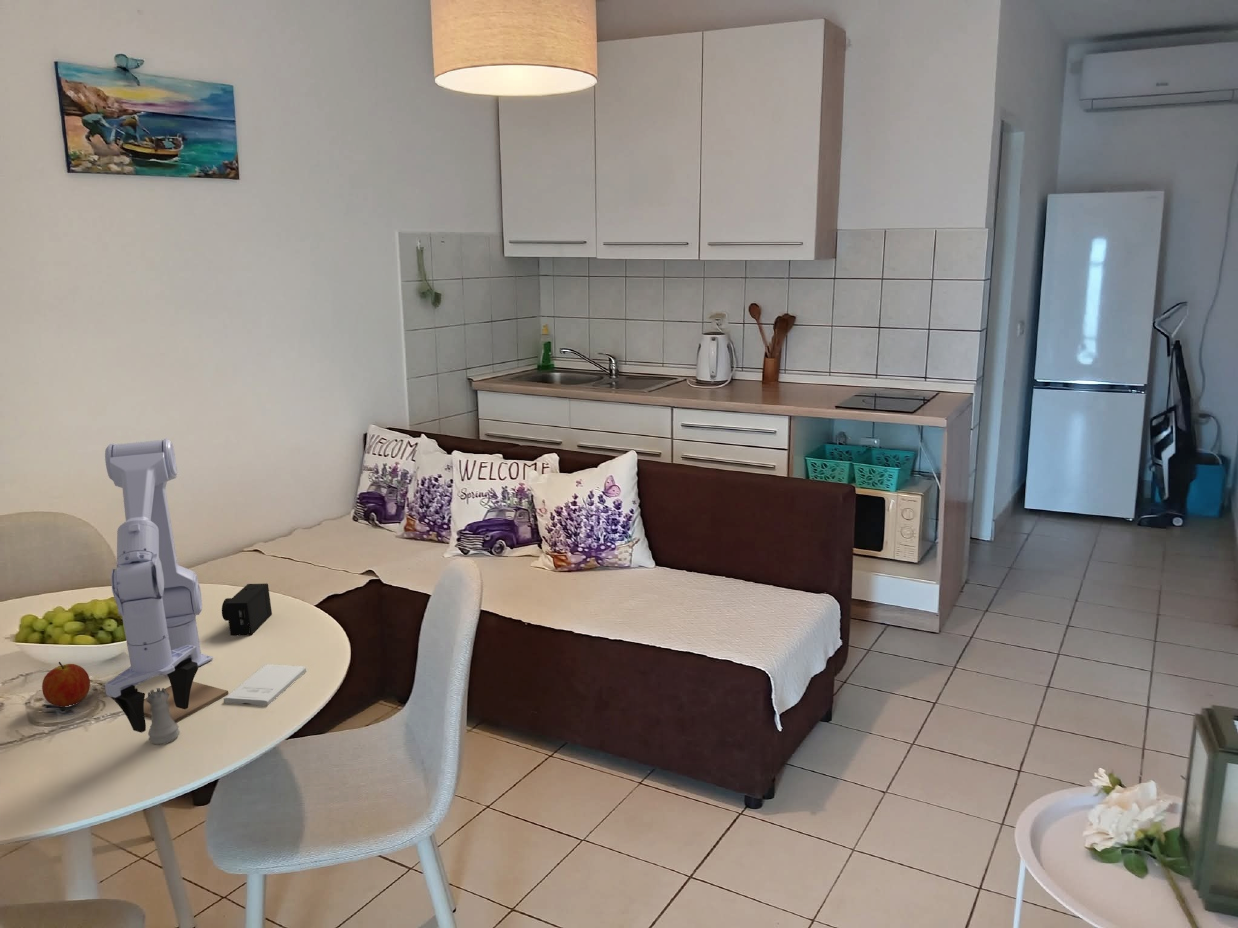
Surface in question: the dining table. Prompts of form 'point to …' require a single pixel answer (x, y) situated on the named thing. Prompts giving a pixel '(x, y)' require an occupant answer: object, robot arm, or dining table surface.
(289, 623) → the dining table surface
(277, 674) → the external hard drive
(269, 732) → the dining table surface
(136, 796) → the dining table surface
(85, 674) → the fruit
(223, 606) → the digital camera
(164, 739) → the rook chess piece
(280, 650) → the dining table surface
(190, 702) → the walnut coaster
